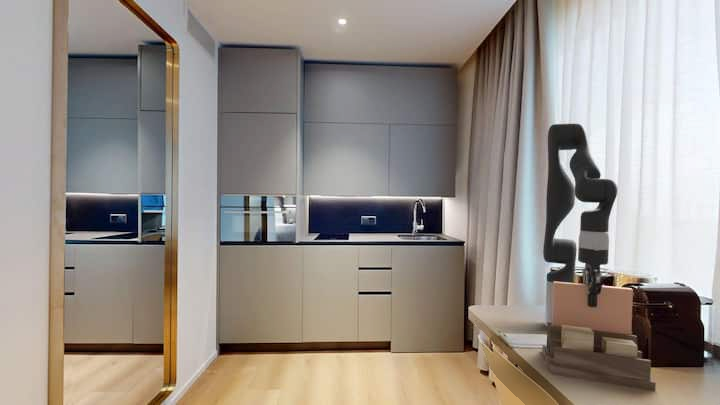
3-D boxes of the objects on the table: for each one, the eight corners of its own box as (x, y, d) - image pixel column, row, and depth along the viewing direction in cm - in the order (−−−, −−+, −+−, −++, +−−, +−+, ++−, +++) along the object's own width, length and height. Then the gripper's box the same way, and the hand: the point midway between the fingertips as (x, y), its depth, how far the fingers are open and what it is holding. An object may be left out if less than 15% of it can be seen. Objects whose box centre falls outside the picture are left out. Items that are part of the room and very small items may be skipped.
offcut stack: (560, 359, 108) (562, 324, 108) (630, 370, 102) (632, 333, 102) (563, 365, 104) (564, 329, 104) (636, 376, 99) (637, 338, 98)
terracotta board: (551, 339, 115) (553, 281, 115) (627, 350, 109) (630, 288, 109) (552, 342, 114) (554, 282, 113) (630, 352, 107) (633, 289, 107)
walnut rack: (542, 351, 118) (543, 319, 118) (632, 364, 111) (633, 330, 111) (550, 373, 103) (551, 337, 103) (655, 390, 96) (656, 351, 95)
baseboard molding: (610, 354, 119) (587, 340, 131) (611, 345, 119) (588, 331, 131) (512, 351, 119) (498, 337, 131) (512, 342, 119) (498, 329, 131)
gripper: (573, 243, 119) (571, 298, 119) (584, 248, 105) (582, 310, 106) (601, 244, 116) (599, 301, 116) (615, 250, 103) (613, 314, 103)
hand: (591, 305), depth 111 cm, fingers closed on terracotta board, 2 cm apart
